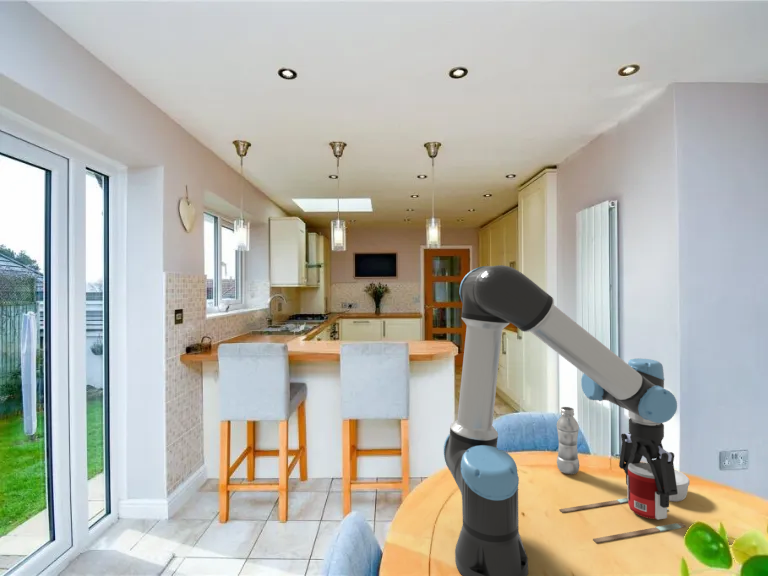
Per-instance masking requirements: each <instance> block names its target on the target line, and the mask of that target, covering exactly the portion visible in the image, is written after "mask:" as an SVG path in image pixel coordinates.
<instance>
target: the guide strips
mask: <svg viewBox="0 0 768 576" xmlns="http://www.w3.org/2000/svg"><path fill="white" fill-rule="evenodd" d="M627 503H628V497H624V498H619V499H615V500H608V501H603V502H596V503H590V504H583V505H577V506H576V505H575V506H571V507H564V508H559V511H560V513H562V514H564V513H565V514H566V513H570V512H577V511H582V510H588V509H589V510H590V509H595V508H600V507H607V506H613V505H619V504H627ZM667 510H669V511H670V509H669V508H667ZM682 528H687V525H686V524H684V523H683V522H678V523H677V522H676V523H669V524H665V525H659V526H655V527H651V528H650V527H649V528H644V529H639V530H635V531H633V530H632V531H629V532H623V533H618V534H611V535H608V536H607V535H606V536H602V537H596V538H592V541H594V543H595V544H601V543H607V542H610V541H611V542H613V541H616V540H623V539H628V538H633V537H639V536H644V535H650V534H655V533H660V532H665V531H672V530H676V529H682Z"/></svg>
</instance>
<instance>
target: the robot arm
mask: <svg viewBox="0 0 768 576" xmlns="http://www.w3.org/2000/svg"><path fill="white" fill-rule="evenodd" d="M458 293H459V297H460V301H461V303H462V309H461V320H462V321H463V322H464V323H465V325H466V329H465V331H466V332H465V339H464V340H465V341H464V349H463V352H464V353H463V359H462V360H463V361H462V369H461V370H462V371H461V380H460V390H459V401H458V408H457V409H458V410H457V419H456V420H454V421H453V422H452V423H451V424H450V428H449V434H448V435H447V436H446V437H445V441H444V445H443V457H444V462H445V464H446V466H447V468H448V470H449V472H450V473H451V475H452V478H453V480H454V481H455V483H456V486H457V487H458V489H459V492H460V494H461V503H462V505H461V508H462V525H461V530H460V533H459V535H458V539H457V542H456V545H455V549H454V556H455V557H454V558H455V559H454V561H455V565H456V568H457V570H458V571H459V573H460V574H461V576H462V575H463V576H527V575H528V574H529V560H528V559H529V558H528V556H527V555H528V554H527V553H526V549H525V547H524V542H523V541H522V538H521V535H520V532H519V531H520V530H519V529H520V527H519V484H520V482H519V481H520V480H519V479H520V478H519V477H520V476H519V474H518V467H517V463H516V461H515V460H514V458H513V457H512V456H511V454H509V453H508V452H506V451H505V450H503V449H499V448H498V440H499V439H498V438H499V436H498V435H499V433H498V431H497V429H495V427H494V426H493V425H494V423H493V422H494V412H495V403H496V393H497V383H498V375H499V373H498V372H499V365H500V363H499V362H500V357H501V356H500V353H501V345H502V335H503V330H504V329H505V328H506V327H507V326H509V325H510V324H512V325H514V326H515V327H516V328H517V329H519V330H520V331H521V332H522V333H523V332H524V333H529V332H530V333H532V334H533V335H534V336H535V337H536V338H538V339H539V340H540V341H542V342H543V343H545V344H546V345H547V346H548V347H550V348H551V349H552V350H553V351H554V352H556V353H557V354H558V355H560V356H561V357H563V358H564V359H565V360H566V361H567V362H569V363H570V364H571V365H572V366H574V367H575V368H576V369H578V370H579V371H580V372H581V373H582V376H581V378H580V379H581V380H580V381H581V390H582V392H583V394H584V396H585V397H586V398H587V399H589V400H590V401H599V402H601V401H608V402H610V403H612V404H614V405H616V406H618V407H620V408H622V409H625V410H627V411H628V417H629V419H628V432H626V433H621V434H620V436H621V437H620V438H621V448H620V455H619V462H618V463H619V464H618V467H619V468H620V469H623V471H624V473H625V484H626V486H628V465H629V464H630V463H632V464H636V463H640V462H642V458H643V457H644V458H645V460H646V463H648V464H650V467H651V470H652V473H653V476H654V478H655V483H656V486H657V489H658V491H657V492H655V518H656V519H655V520H658V521H659V520H662V519H663V520H664V519H667V518H668V511H667V509H668V508H669V507H670V501H669V496H670V495H677V494H678V492H677V485H676V478H675V471H674V470H675V466H674V465H675V464H674V461H675V453H673V452H670V451H667V450H666V449H664V446H663V444H662V441H663V440H664V437H665V424H664V423H667V422H668V421H669V422H670V420H671V419H672V418H673V417H674V416H675V415H676V414H677V410H678V401H677V399H676V397H675V394H674V393H672V392H671V391H670V390H668V389H666V388H665V375H664V367H663V364H662V363H661V362H660V361H658V360H655V359H650V358H632V359H629V360H628V363H627V362H626V361H625V360H623V359H622V358H621V357H620V356H618V355H617V354H615V352H614V351H612V350H611V349H610V348H608V347H607V346H606V345H604V343H602V342H601V341H599V340H598V339H597V338H596V337H595V336H594V335H592V334H591V333H590V332H588V331H587V330H586V329H584V328H583V327H582V326H581V325H579V324H578V323H577V322H576V321H574V320H573V319H572V318H571V317H570V316H569V315H567V314H566V313H565V312H564V311H562V310H561V309H560V308H558V307H557V306H556V305H555V300H554V298H553V297H552V295H550V294H549V293H547V292H546V291H545V290H544V289H542V288H541V287H540V286H539V285H538V284H537V283H536V282H534V281H533V280H532V279H530V278H529V277H528V276H526V274H524V273H522V272H521V271H519V270H517V269H516V268H515V267H512V266H509V265H502V264H501V265H499V264H498V265H489V266H488V265H486V266H479V267H477V268H474V269H472V270H470V271H469V272H467V274H465V276H464V277H463V279H462V280H461V282H460V285H459V292H458ZM663 487H664V488H663Z"/></svg>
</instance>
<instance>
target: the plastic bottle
mask: <svg viewBox="0 0 768 576" xmlns="http://www.w3.org/2000/svg"><path fill="white" fill-rule="evenodd" d="M574 411H575V410H574V408H573V407H570V406H562V407H561V409H560V415H561V416H560V417H559V419H558V420H557V422H556V429H557V430H556V431H557V436H558V453H557V457H556V466H557V469H558V470H559V472H561V473H563V474H566V475H576V474H577V473H578V472H579V470H580V460H579V455H578V436H579V431H580V430H579V429H580V426H579V423H578V421H577V419H576V418H575V417H574V416H575V413H574Z"/></svg>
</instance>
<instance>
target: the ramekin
mask: <svg viewBox="0 0 768 576" xmlns="http://www.w3.org/2000/svg"><path fill="white" fill-rule="evenodd" d="M674 471H675V478H676V485H677V492H678V494H677V495H670V496H669V500H670V501H669V502H682V501H683V500H685V498H687V496H688V491H689V485H690V478H689V477H688V476H687V475H686V474H685V473H683V472H682V471H679V470H677V469H674Z"/></svg>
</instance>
